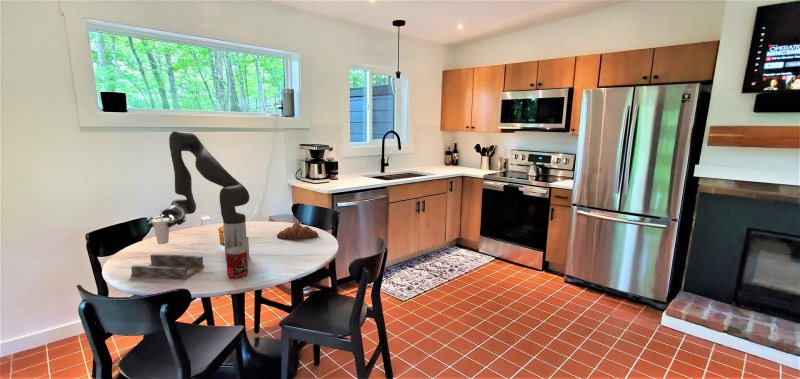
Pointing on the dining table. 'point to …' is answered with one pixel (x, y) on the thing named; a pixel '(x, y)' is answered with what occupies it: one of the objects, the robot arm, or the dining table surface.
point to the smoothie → (161, 229)
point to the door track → (169, 267)
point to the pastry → (297, 232)
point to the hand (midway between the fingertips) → (159, 225)
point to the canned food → (237, 262)
